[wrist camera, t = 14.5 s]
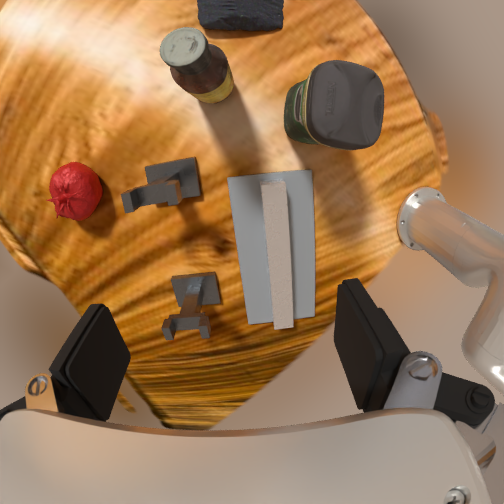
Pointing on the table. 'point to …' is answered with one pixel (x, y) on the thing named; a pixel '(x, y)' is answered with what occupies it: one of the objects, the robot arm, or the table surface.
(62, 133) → the table surface
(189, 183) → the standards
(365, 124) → the coffee jar
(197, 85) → the sauce bottle
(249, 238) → the mat
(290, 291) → the hang bar
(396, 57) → the table surface
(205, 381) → the table surface
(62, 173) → the pomegranate
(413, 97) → the table surface
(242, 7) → the dark grey notched piece
